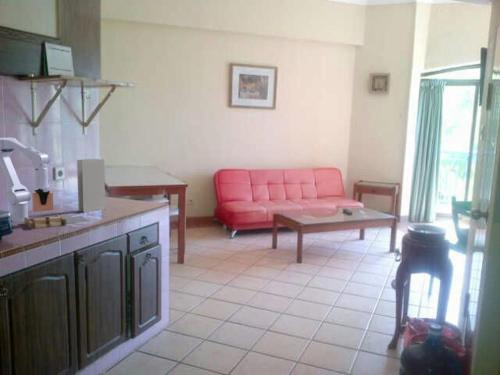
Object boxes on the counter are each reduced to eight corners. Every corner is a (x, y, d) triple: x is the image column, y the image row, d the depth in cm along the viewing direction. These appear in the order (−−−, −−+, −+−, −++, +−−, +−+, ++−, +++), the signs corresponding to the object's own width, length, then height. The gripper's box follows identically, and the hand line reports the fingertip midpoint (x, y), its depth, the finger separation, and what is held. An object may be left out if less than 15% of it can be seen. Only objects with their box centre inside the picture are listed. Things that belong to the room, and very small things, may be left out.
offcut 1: (33, 227, 222) (33, 219, 221) (44, 225, 225) (44, 217, 224) (35, 228, 220) (34, 220, 219) (46, 226, 223) (45, 219, 222)
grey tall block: (100, 208, 275) (99, 158, 270) (105, 209, 271) (104, 159, 267) (78, 211, 264) (76, 159, 259) (83, 212, 260) (82, 160, 256)
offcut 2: (48, 225, 226) (48, 217, 226) (59, 224, 229) (59, 216, 229) (50, 226, 224) (50, 218, 223) (61, 225, 227) (60, 217, 226)
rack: (24, 224, 229) (24, 217, 229) (57, 220, 239) (57, 214, 238) (31, 230, 217) (31, 223, 217) (66, 226, 227) (65, 219, 227)
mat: (58, 219, 242) (58, 218, 242) (81, 216, 249) (81, 215, 249) (65, 224, 231) (65, 223, 231) (89, 221, 238) (89, 220, 238)
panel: (32, 210, 228) (32, 193, 227) (51, 209, 234) (51, 191, 232) (34, 211, 226) (33, 193, 225) (53, 210, 231) (52, 192, 230)
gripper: (53, 178, 224) (54, 205, 226) (46, 175, 235) (47, 201, 237) (38, 179, 220) (39, 207, 222) (31, 176, 231) (32, 202, 233)
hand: (42, 204), depth 229 cm, fingers closed on panel, 3 cm apart
